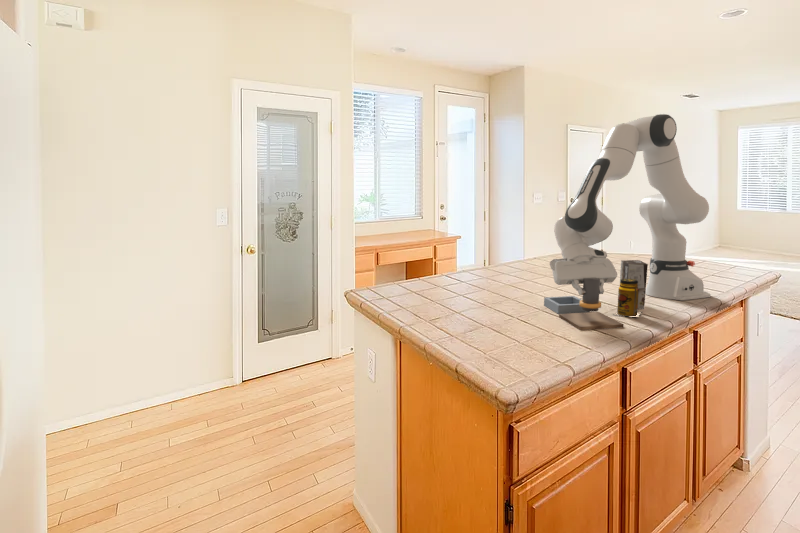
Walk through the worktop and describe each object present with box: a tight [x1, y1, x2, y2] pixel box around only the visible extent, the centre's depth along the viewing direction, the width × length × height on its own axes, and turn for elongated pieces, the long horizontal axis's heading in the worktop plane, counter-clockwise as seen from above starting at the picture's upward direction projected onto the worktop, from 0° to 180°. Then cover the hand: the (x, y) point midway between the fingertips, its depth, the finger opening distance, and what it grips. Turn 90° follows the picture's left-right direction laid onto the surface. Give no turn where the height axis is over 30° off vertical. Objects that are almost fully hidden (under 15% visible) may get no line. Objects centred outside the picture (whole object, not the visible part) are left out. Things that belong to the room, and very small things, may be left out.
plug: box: [579, 278, 602, 312], centre depth 140 cm, size 6×6×10 cm
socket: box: [543, 295, 591, 315], centre depth 157 cm, size 11×11×3 cm
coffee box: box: [619, 259, 649, 310], centre depth 158 cm, size 9×6×16 cm
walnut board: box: [558, 311, 625, 331], centre depth 142 cm, size 14×14×1 cm
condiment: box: [613, 279, 644, 317], centre depth 148 cm, size 7×8×12 cm
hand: (592, 293), depth 140 cm, fingers closed on plug, 5 cm apart
